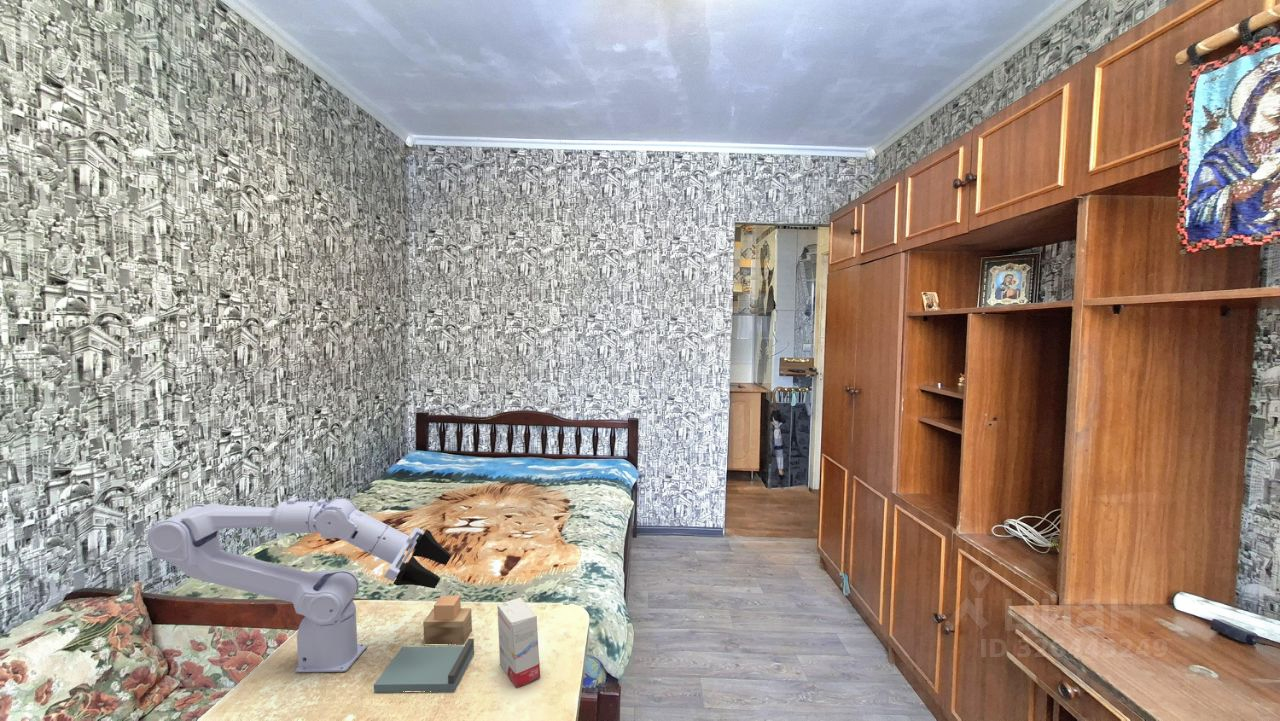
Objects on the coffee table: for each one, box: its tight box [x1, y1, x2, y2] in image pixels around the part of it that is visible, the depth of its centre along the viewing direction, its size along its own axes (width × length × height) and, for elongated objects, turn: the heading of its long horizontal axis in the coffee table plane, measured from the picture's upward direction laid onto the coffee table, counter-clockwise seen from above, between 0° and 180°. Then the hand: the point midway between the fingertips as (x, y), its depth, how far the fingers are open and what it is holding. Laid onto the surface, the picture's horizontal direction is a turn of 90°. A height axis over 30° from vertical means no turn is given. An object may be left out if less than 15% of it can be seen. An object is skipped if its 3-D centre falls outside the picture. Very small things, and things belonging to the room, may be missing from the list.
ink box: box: [497, 597, 541, 688], centre depth 98 cm, size 9×5×12 cm, turn 33°
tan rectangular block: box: [422, 607, 473, 646], centre depth 109 cm, size 8×5×5 cm, turn 90°
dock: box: [373, 638, 475, 694], centre depth 98 cm, size 14×11×3 cm
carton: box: [433, 594, 462, 620], centre depth 109 cm, size 4×4×3 cm
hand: (443, 571), depth 105 cm, fingers open, 7 cm apart
